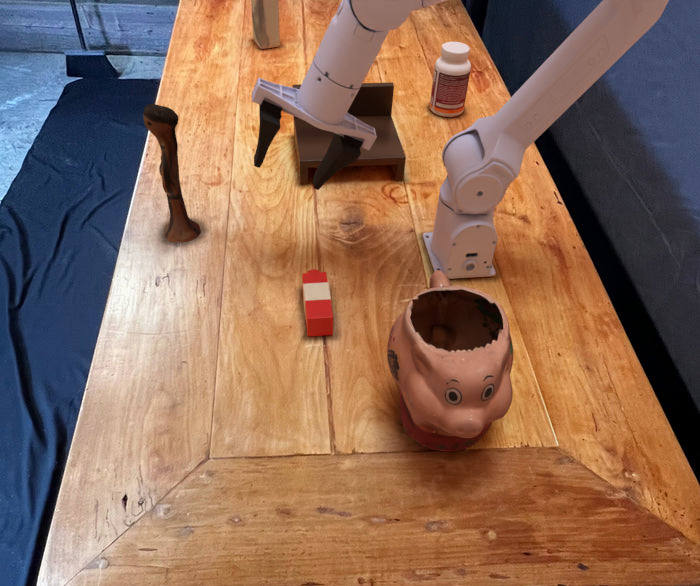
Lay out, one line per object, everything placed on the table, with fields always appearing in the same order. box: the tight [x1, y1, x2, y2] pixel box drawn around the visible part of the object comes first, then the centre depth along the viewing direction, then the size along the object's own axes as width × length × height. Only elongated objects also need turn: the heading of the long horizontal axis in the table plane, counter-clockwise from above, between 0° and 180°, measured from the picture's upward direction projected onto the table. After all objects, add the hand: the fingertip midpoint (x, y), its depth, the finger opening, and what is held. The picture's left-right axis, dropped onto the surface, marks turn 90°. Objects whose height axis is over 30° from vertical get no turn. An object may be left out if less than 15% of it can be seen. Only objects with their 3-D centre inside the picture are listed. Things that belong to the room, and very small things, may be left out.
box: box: [250, 0, 281, 50], centre depth 125 cm, size 5×4×13 cm
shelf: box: [291, 82, 407, 185], centre depth 97 cm, size 14×16×9 cm
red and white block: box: [301, 268, 334, 337], centre depth 76 cm, size 9×3×3 cm, turn 7°
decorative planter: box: [386, 270, 514, 452], centre depth 63 cm, size 20×12×14 cm, turn 10°
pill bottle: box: [429, 41, 472, 118], centre depth 109 cm, size 6×6×11 cm
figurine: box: [142, 102, 202, 243], centre depth 80 cm, size 7×5×18 cm
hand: (286, 173), depth 75 cm, fingers open, 7 cm apart
